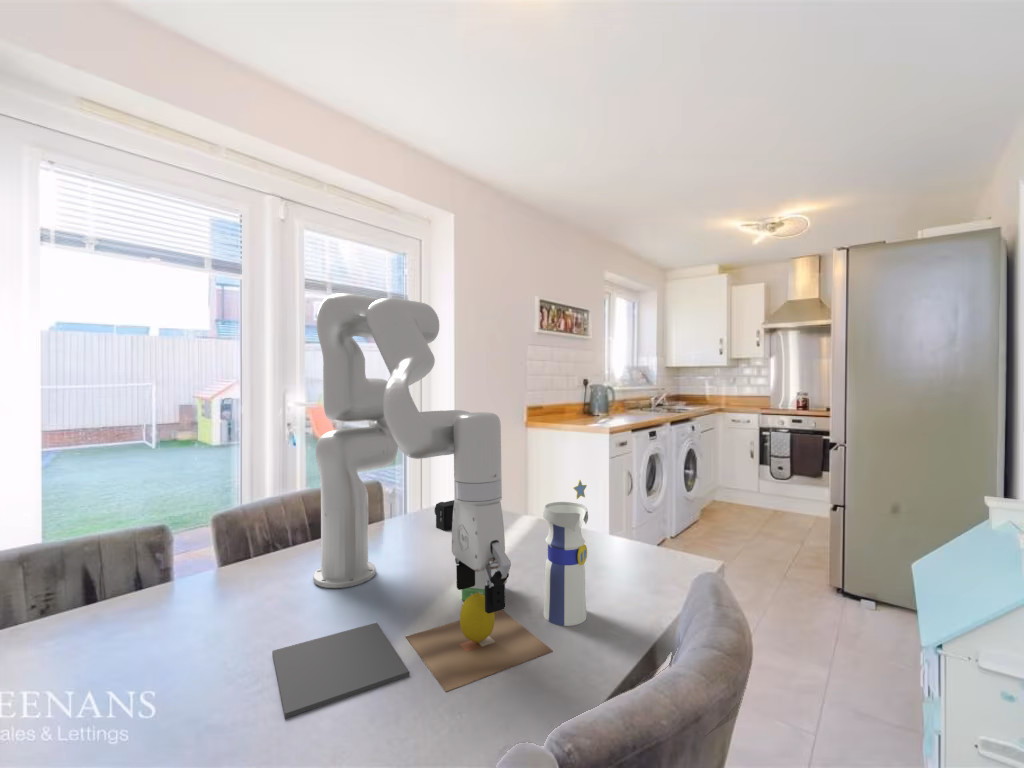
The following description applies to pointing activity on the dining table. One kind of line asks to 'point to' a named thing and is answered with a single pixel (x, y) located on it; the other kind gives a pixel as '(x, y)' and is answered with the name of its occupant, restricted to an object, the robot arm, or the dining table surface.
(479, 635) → the lemon
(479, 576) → the ink box
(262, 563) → the dining table surface
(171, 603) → the dining table surface
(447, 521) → the digital camera
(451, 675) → the board
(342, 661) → the rubber mat
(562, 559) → the water bottle
